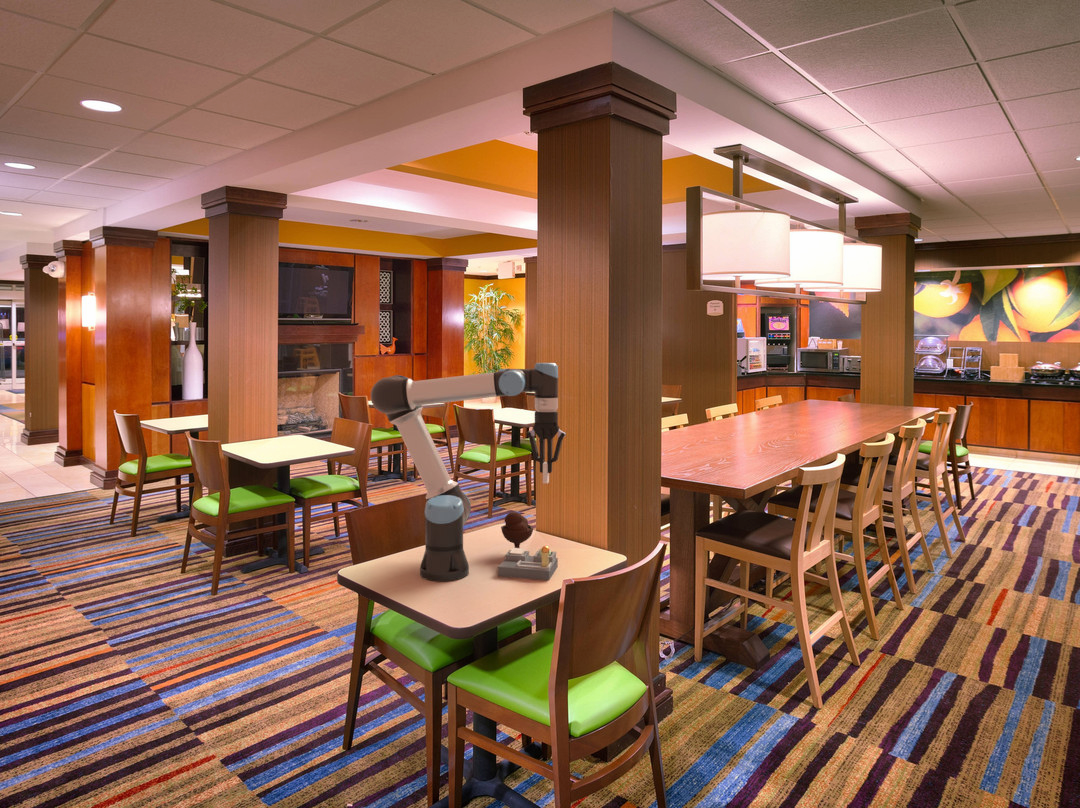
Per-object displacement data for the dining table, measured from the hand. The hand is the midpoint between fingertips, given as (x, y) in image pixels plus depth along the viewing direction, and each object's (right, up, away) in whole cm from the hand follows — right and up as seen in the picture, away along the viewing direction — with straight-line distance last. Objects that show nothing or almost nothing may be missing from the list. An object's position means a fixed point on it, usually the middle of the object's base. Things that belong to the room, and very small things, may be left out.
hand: (545, 482), depth 225 cm
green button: (0, -24, -6) cm, 24 cm away
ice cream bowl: (-10, -26, +10) cm, 29 cm away
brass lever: (0, -24, -12) cm, 27 cm away
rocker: (-9, -22, -4) cm, 25 cm away
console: (-5, -27, -8) cm, 29 cm away
